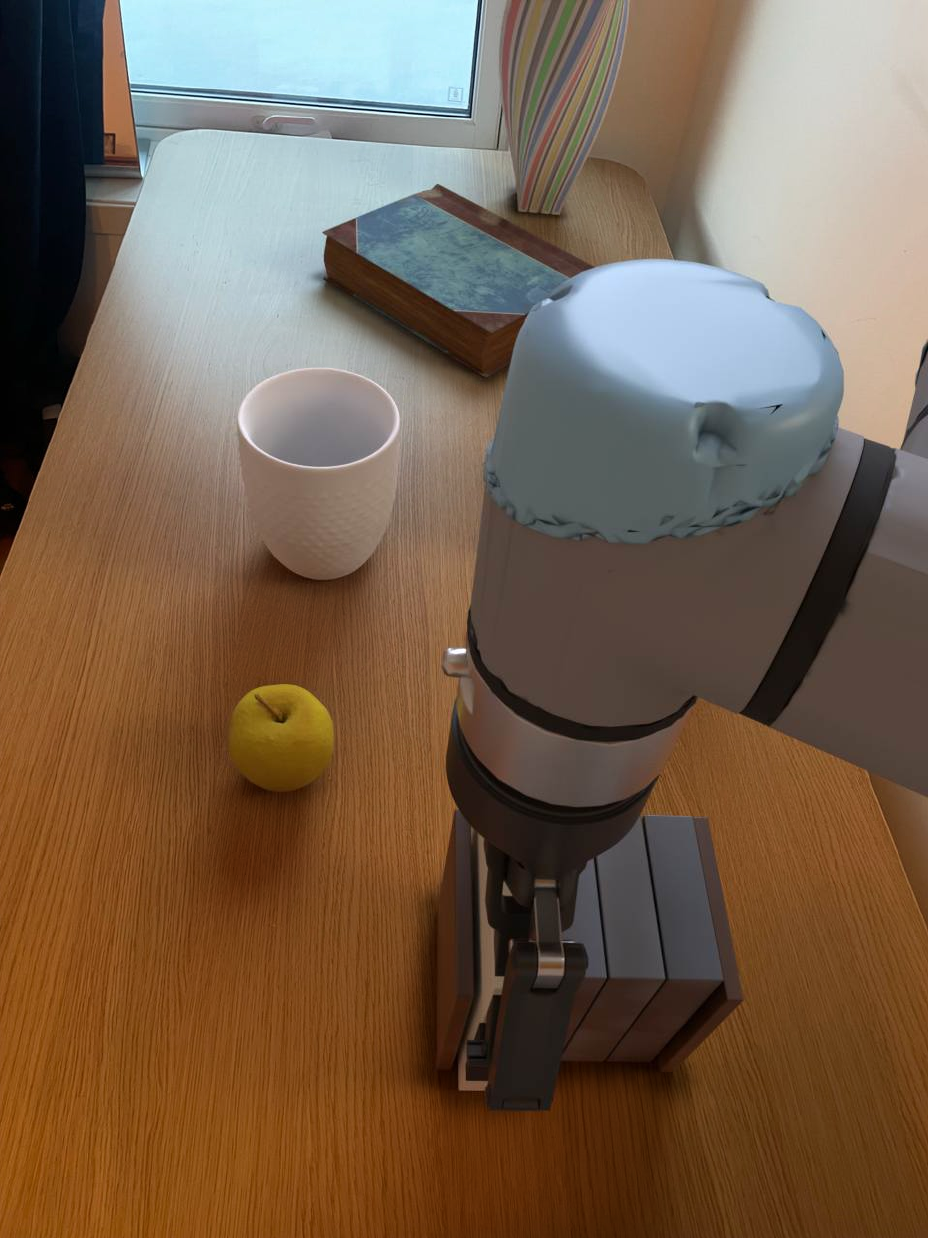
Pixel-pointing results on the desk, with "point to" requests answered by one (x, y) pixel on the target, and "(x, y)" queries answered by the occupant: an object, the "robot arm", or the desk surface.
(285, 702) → the apple
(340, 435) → the mug
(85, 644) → the desk surface
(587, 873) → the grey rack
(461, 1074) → the cream book
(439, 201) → the book
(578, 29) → the vase
